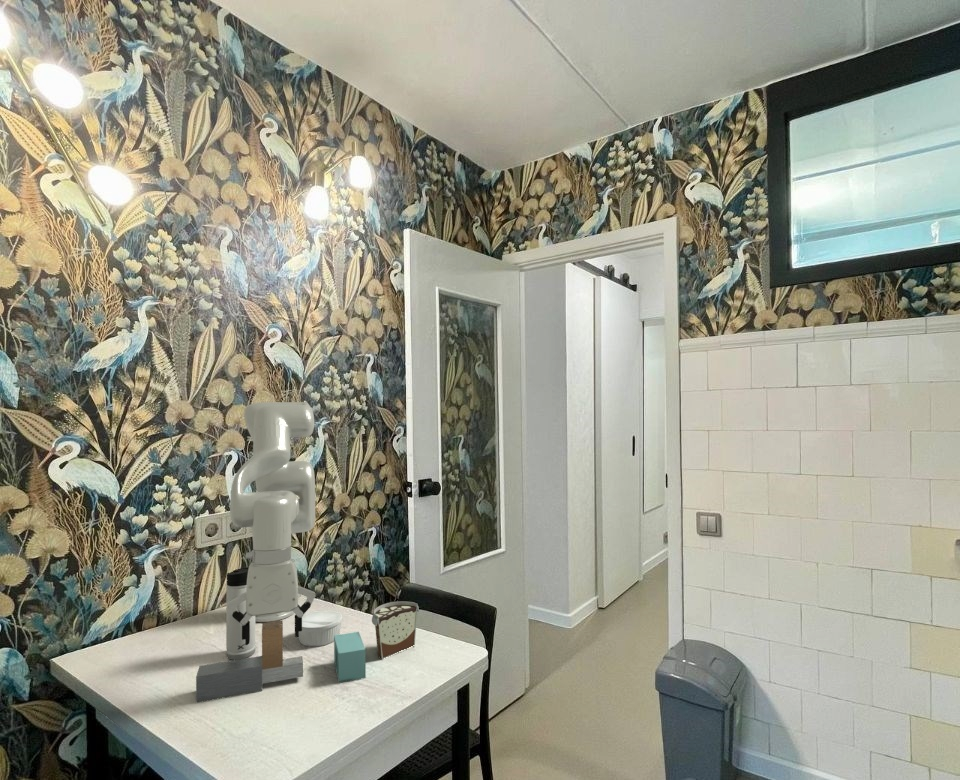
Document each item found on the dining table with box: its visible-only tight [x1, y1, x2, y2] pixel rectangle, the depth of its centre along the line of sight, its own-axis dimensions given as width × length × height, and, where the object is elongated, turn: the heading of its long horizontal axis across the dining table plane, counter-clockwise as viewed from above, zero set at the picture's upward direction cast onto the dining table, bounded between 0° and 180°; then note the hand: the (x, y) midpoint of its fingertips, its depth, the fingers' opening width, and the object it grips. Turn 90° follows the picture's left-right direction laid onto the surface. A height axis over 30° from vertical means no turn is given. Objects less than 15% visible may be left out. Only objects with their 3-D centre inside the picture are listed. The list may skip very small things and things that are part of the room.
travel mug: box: [225, 566, 256, 661], centre depth 129 cm, size 6×7×20 cm
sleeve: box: [195, 655, 263, 703], centre depth 112 cm, size 12×5×5 cm, turn 110°
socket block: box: [333, 631, 367, 683], centre depth 120 cm, size 6×10×6 cm, turn 20°
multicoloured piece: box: [261, 619, 304, 685], centre depth 114 cm, size 19×4×11 cm, turn 110°
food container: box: [371, 600, 420, 660], centre depth 131 cm, size 12×6×10 cm, turn 134°
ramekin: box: [298, 609, 343, 648], centre depth 137 cm, size 11×11×5 cm
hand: (272, 638), depth 115 cm, fingers open, 9 cm apart
